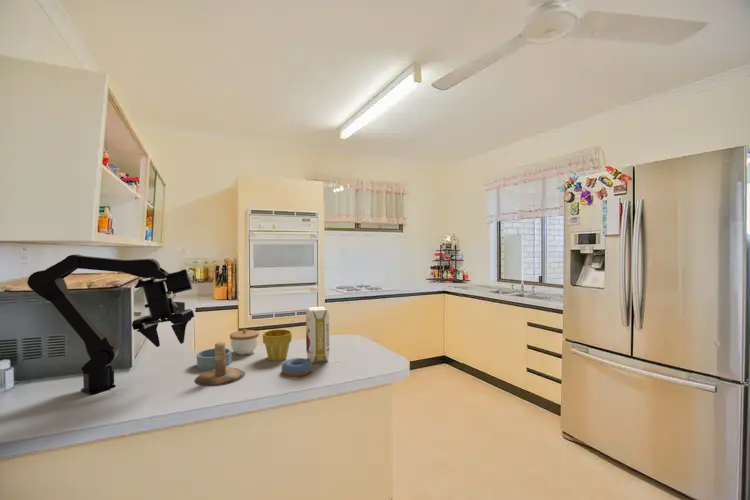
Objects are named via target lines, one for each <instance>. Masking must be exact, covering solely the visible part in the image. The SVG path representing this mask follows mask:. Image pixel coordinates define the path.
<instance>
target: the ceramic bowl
mask: <svg viewBox="0 0 750 500" xmlns="http://www.w3.org/2000/svg"><path fill="white" fill-rule="evenodd" d="M232 352H233V350H232V349H230V348H226V347H225V367H229V366H230V365H231V364H232V363H233V361H232V359H233V358H232V356H233V355H232ZM196 367H197V369H198V370H202V371H209V370H212V369H215V347H214V348H209V349H204V350H201V351H198V353H196Z"/></svg>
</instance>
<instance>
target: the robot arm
mask: <svg viewBox="0 0 750 500" xmlns="http://www.w3.org/2000/svg"><path fill="white" fill-rule="evenodd" d="M78 269H80V270H81V269H82V270H92V271H102V272H103V271H104V272H105V271H106V272H114V273H115V272H116V273H118V272H119V273H124V274H127V275H130V276H133V277H134V276H135V277H138V278H141V279H138V281H137V283H136V285H135V286H134V289H140V288H142V289H143V293H144V297H145V299H146V304H144V308H145V309H147V308H148V310H149V315H144V316H142V317H139V318H137V319H134V320H133V321H132V322H131V326H132V330H133V331H135V330H136V331H137V332H138V333H141V334H142V335H143V336H144V337H145V338H146V339H148V341H149V342H150V343H151V344H153V345H154V347H156V348H159V347H160V346H161V344H160V343H161V342H160V337H159V334H158V330H157V329H158V326H159V323H165V322H170V323H171V324H172V325H170V327H171V328H172V331H173V333H174V335H175V337H176V338H177V340H178V342H179V344H181V345H182V344H184V343H185V335H186V328H187V325H188V323H189V322H190V321H191V320H192V319H193V318H195V314H194V310H192V309H191V308H187V309H186V305H185V303H186V302H185V301H184V302H183V301H173V298H171V297H168V294H167V292H168V293H169V292H170V293H172V294H173V295H174V294H179V293H183V292H186V291H189V290H192V289H193V285H192V282H191V278H190V276H189V274H188V271H187V269H181V270H179V271H175V272H168V271H167V270H165V269H164V268H162V267H161V265H160V263H159V261H158V260H156V259H154V258H138V259H119V258H118V259H117V258H110V257H99V256H88V255H81V254H70V255H68V256H66V257H65V258H64V259H62V260H60V261H58V262H57V263H55V264H53V265H51V266H49V267H48V268H46V269H43V270H37V271H35V272H32V274H30V275H29V276H28V278H27V279H28V280H27V282H26V284H27V285H28V287H29V288H30V290H32V291H33V292H35V294H37V295H38V296H39V297H41V298H42V299H44V300H46V301H48V302H50V303H51V304H52V305H53V307H55V309H56V310H57V311H58V312H59V314H60V315H61V316H62V317H63V318H64V320H65V321H66V322H67V323H68V325H69V326H70V327H71V328H72V330H74V332H75V333H76V334H77V335H78V336H79V338H80V339H81V340H82V341H83V344H84V346H85V350H86V353H87V355H88V357H89V359H88V361H86V362H85V363H84V365H82V366H81V368H80V369H81V371H82V375H83V387H82V388H81V389H80V391H81V392H83V393H86V394H89V395H95V394H98V393H102V392H104V391H107V390H110V389H114V388H116V384H115V370H114V369H113V366H112V365H111V363H112V362H113V361H114V359H116V357H118V355H119V353H120V346H119V344H120V341H118V340H117V339H116V338H115V337H114V335H113V333H112V332H110V333H108V334H104V333H103V332H101V331H100V330H99V329H98V328H97V327H96V325H95V324H94V322H92V320H91V319H90V318H89V316H87V314H86V312H84V310H83V309H82V308H81V307H80V305H79V304H78V303H77V302H76V301H75V300H74V298H73V297H72V296H71V295H70V292H69V289H68V286H67V283H66V281H65V278H66V277H68V276H70V275H71V274H72V273H74V272H75V271H77V270H78ZM143 279H145V280H143ZM156 279H158V280H156ZM165 285H166V287H165ZM166 289H167V290H166Z"/></svg>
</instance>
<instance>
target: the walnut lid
mask: <svg viewBox="0 0 750 500" xmlns="http://www.w3.org/2000/svg"><path fill="white" fill-rule="evenodd" d="M214 348H215V369H212V370H205V371H204V372H202V373H200V374H199V375H198V376H199V377H198V376H197V377H198V382H199V383H201V384H205V385H219V384H225V383H229V382H232V381H235V380H237V379H239V378H240V377H241V376H242V371H243V370H242V371H241V368H238V367H233V366H232V367H231V366H230V367H229V366H226V367H225V348H226V342H223V341H222V342H216V343H215V344H214Z"/></svg>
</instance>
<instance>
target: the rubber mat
mask: <svg viewBox="0 0 750 500" xmlns="http://www.w3.org/2000/svg"><path fill="white" fill-rule="evenodd" d="M240 370H241V369H240ZM241 371H242V376H241V377H240V378H239V379H237V380H235V381H232V382H229V383H225V384H219V385H205V384H201V383H199V382H198V377H199V375H198V376H196V377H195V379H194V383H195V384H196V385H198V386H201V387H210V388H211V387H221V386H225V385H227V386H228V385H231V384H233V383H237V382H239V381H240V380H242V379H244V377H245V376H246V372H245V371H243V370H241Z"/></svg>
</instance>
